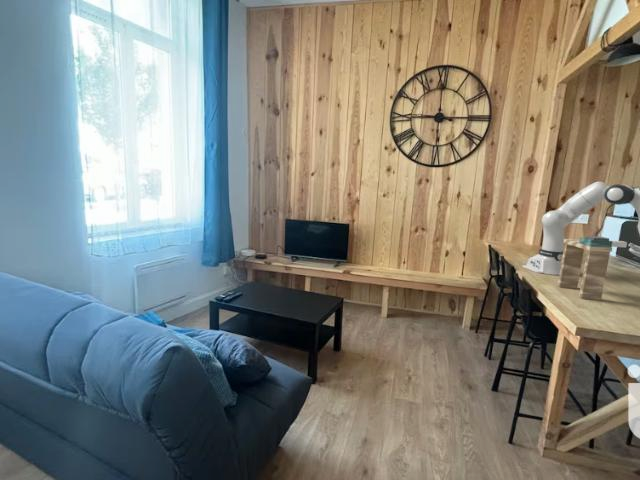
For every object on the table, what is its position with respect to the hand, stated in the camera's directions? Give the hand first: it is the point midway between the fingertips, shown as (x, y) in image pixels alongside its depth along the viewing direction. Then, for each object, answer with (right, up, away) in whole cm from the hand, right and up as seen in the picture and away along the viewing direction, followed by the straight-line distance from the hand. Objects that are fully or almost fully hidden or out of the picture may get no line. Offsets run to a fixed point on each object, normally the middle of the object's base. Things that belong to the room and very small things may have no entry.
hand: (637, 246), depth 174 cm
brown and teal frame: (-23, -24, +9) cm, 34 cm away
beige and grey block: (-17, 0, -2) cm, 18 cm away
